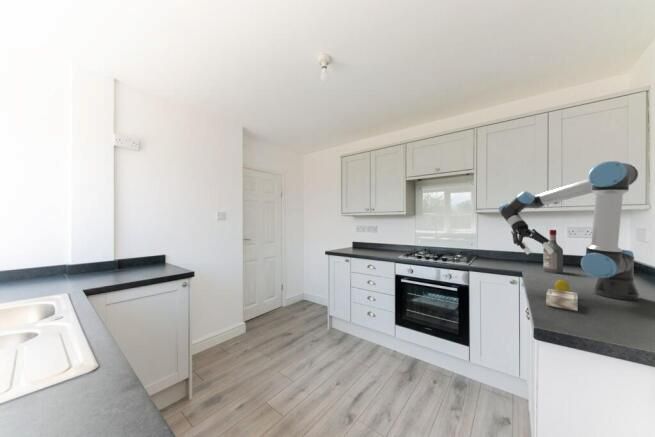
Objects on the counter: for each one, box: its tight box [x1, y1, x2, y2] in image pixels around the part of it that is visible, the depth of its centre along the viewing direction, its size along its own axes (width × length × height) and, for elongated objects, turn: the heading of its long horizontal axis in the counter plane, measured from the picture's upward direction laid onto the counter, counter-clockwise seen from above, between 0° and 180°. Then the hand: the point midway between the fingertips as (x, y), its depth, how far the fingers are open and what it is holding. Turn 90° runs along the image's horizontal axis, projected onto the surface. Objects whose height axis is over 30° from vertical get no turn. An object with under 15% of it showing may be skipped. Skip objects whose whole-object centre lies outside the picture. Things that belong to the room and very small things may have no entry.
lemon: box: [554, 279, 571, 292], centre depth 127 cm, size 6×6×8 cm
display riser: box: [545, 288, 579, 312], centre depth 114 cm, size 10×12×5 cm
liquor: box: [542, 229, 564, 274], centre depth 182 cm, size 9×9×30 cm
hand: (540, 253), depth 139 cm, fingers open, 13 cm apart
